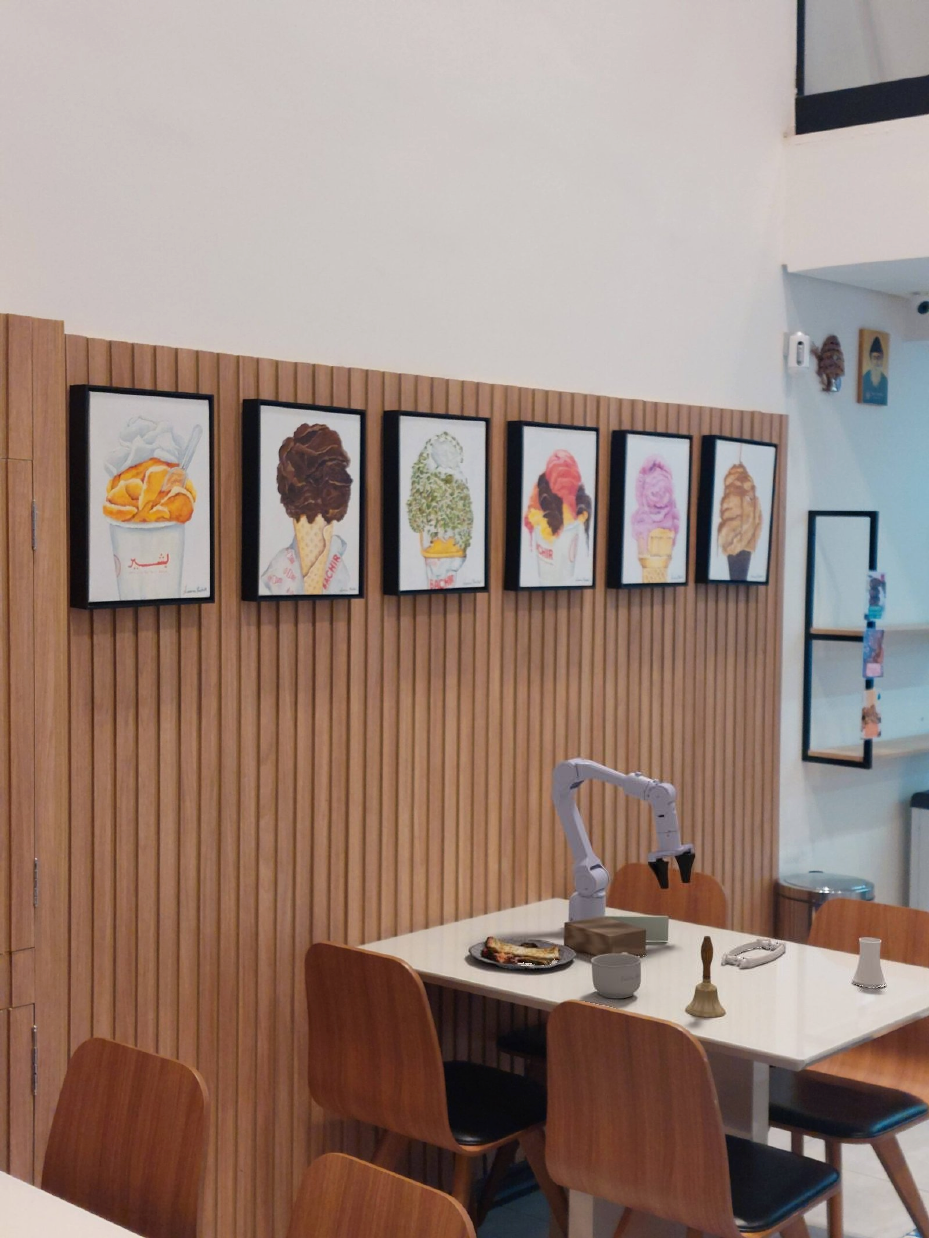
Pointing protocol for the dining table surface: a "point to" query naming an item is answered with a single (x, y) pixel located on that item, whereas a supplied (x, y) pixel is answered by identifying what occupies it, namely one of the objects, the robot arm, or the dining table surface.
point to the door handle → (750, 961)
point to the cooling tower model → (869, 964)
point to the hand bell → (706, 988)
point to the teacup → (616, 974)
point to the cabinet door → (646, 925)
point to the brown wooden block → (604, 937)
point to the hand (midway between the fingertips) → (675, 885)
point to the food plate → (521, 953)
